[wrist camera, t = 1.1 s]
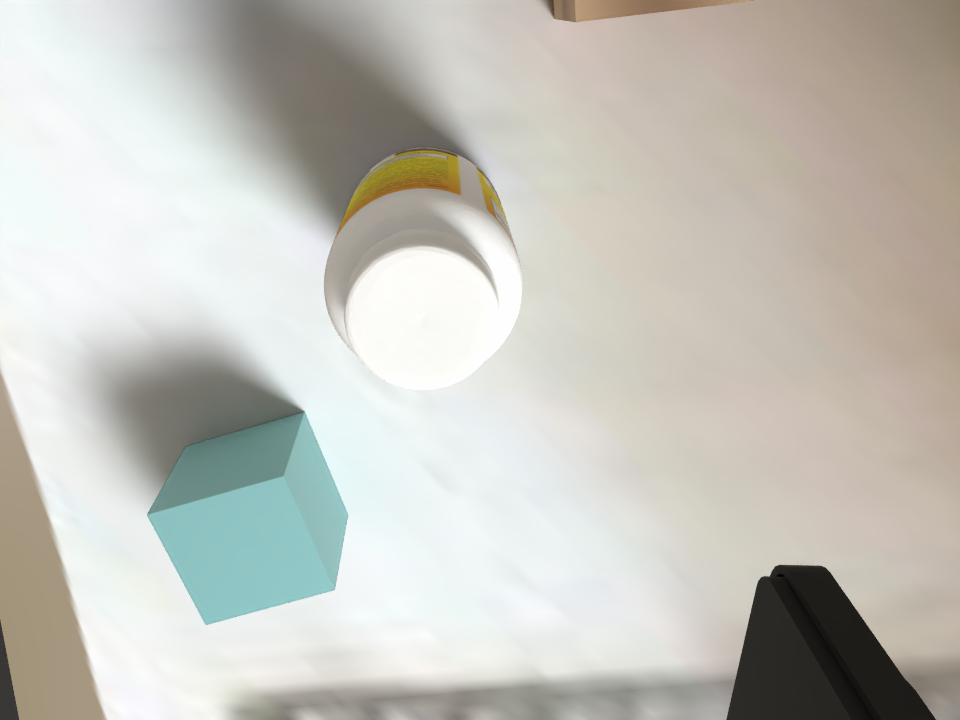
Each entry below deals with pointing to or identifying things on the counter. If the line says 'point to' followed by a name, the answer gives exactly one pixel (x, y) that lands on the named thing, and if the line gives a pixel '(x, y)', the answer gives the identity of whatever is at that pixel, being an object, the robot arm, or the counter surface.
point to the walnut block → (623, 7)
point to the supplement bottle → (423, 270)
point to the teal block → (252, 519)
